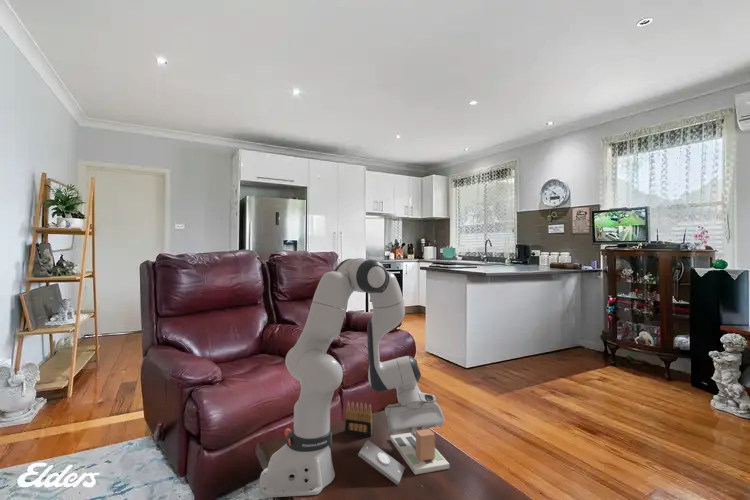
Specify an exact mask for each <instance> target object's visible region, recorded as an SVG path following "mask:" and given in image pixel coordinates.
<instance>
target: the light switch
mask: <svg viewBox="0 0 750 500" xmlns="http://www.w3.org/2000/svg"><path fill="white" fill-rule="evenodd" d="M357 456H358V457H360V458H361V459H363V461H365V462H366V463H367V464H369V465H370V466H371V467H373V468H374V469H375V470H377V471H378V472H379V473H381V474H382V475H383V476H385V477H386V478H388V479H389V480H390V481H391V482H392V483H394V484H395V485H397V486H399V484H400V482H401V481H402V477H403V474H404V471H405V470H406V467H405V466H404V465H403V464H402V463H400V462H399V461H397V460H396V459H395V458H394V457H392V456H391V455H389V454H388V453H387V452H386V451H384V450H383V449H381V448H380V447H378V445H376V444H374V443H373V442H372V441H371V440H369V439H367V440H366V441H365V443H364V445H362V447H361V449H360V450H359V452H358V454H357Z"/></svg>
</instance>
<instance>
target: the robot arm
mask: <svg viewBox="0 0 750 500" xmlns="http://www.w3.org/2000/svg"><path fill="white" fill-rule="evenodd" d="M354 292H356V293H367V294H369V297H370V300H371V306H372V317H371V319H370V320H369V321H368V322H367V328H366V331H367V332H366V333H367V335H366V336H367V340H366V341H367V357H368V370H367V372H368V374H367V378H368V383H369V384H368V385H369V386H370V388H371V389H372V390H373V391H375V392H377V393H379V394H382V393H384V392H387V391H390V390H392V389H395V390H396V398H397V402H398V403H391V404H387V406H385V408H384V413H385V416H386V417H387V427H388V431H389V432H390V433H391V434H394V433H397V434H398V433H402V432H410V433H411V434H412V435H413V436H414V437H415V438H416V431H418V430H425V429H432V428H433V429H434V428H440V427H442V426H443V424H444V423H445V422H446V421H445V420H446V419H445V417H444V414H443V411H442V408H441V406H440V404H438V402H436V401H437V398H436V396H435V395H434V394H429V393H425V392H422V391H421V389H420V388H419V385H418V383H419V381H420V380H421V377H422V373H421V371H420V368H419V365H418V364H419V363H418V361H417V359H416V358H414V357H413V356H411V355H405V356H401V357H400V356H399V357H397V358H393V359H390V360H386V361H380V357H381V356H380V341H381V340H382V338H383V337H384V336H385V335H387V334H388V333H389V332H391V331H393V330H394V329H395V328H396V327H398V326H399V325H400V324H401V323H402V321H403V320H404V318H405V316H406V315H405V313H406V307H405V302H404V301H405V300H404V297H403V293H402V290H401V287H400V284H399V282H398V279H397V277H396V275H395V274H394V273H393V272H392V271H388V270H387V269H386V267H385V265H383V263H381V262H379V261H377V260H374V259H366V258H358V257H357V258H347V259H344V260H342V261H341V262H340V263H338V265H337V266H336V268H335V269H334V270H332V271H328V272H325V273H324V274H322V276H321V277H320V280H319V282H318V285H317V287H316V289H315V292H314V295H313V297H312V302H311V305H310V309H309V312H308V316H307V319H306V322H305V324H304V327H303V330H302V331H301V334H300V336H299V337H298V338H297V341H296V343H295V344H294V346H293V347H291V348H290V349H289V350H288V352H287V353H286V355H285V359H284V361H285V367H286V368H287V371H288V372H289V375H291V377H293V378H294V379H295V380H297V381H299V383H300V393H299V398H298V400H297V401H296V402H295V403H294V407H293V430H291V429H290V428H289V427H288V428H285V430H284V436H285V437H286V443H285V444H284V445H283V446H282V447H280V448H279V449H278V450H277V451H275V452H274V453H272V455H270V459H269V460H268V466H267V467H266V468H264V469H263V471H261V473H260V476H259V482H258V483H259V484H258V487H259V491H260V493H261V495H262V496H264V497H265V498H280V497H281V498H284V497H299V496H300V497H301V496H316V495H319V494H320V493H321V492H322V490H323V489H324V488H325V487H327V486H328V485H330V484H331V483H332V482H333V481H334V479H335V476H336V473H335V469H334V465H333V460H332V452H331V449H332V441H333V438H332V437H333V436H332V435H333V434H332V433H333V432H332V429H331V404H332V399H333V396H334V392H335V391H336V390H338V388H339V387H340V386H341V384H342V381H343V378H344V371H343V370H344V369H343V367H342V365H341V363H339V361H338V360H336V358H334V356H332V355H330V354H328V353H327V352H328V349H329V347H330V346H331V343H332V342H333V341H334V339H336V338H337V337H338V336H339V335H340V333H341V330H342V328H343V323H344V319H345V316H346V315H345V314H346V312H347V311H346V310H347V306H348V303H349V299H350V297H351V295H352V294H353V293H354Z"/></svg>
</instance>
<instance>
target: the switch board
mask: <svg viewBox="0 0 750 500" xmlns="http://www.w3.org/2000/svg"><path fill="white" fill-rule="evenodd" d="M389 437H390V439H389V440H390V441H391V442H392V444H393V446H394V447H395V449H396V450H397V451H398V453H399V454H400V456H401V457H402V458H403V460H404V461H405V463H406V464H407V466H408V467H409V468H410V469H411V471H412V472H413V475H420V474H427V473H432V472H437V471H442V470H443V471H445V470H448V469H450V463H449V462H448V461H447V460H446V458H445V457H444V455H442V453H440V451H439V450H438V449H437V448H436V447H435V459H431V460H425V461H420V460H419V458H418V457H417V456H416V438H415V437H414V436H413V435H412V434H411V432H407V433H399V434H398V433H397V434H393V435H392V434H391V435H390V436H389Z"/></svg>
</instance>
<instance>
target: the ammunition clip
mask: <svg viewBox="0 0 750 500" xmlns="http://www.w3.org/2000/svg"><path fill="white" fill-rule="evenodd" d="M359 404H360V405H359ZM345 409H346V411H345V421H344V422H345V425H344V426H345V427H344V433H347V434H353V435H359V436H364V437H365V436H366V437H372V436H373V413H372V404H371V403H369V404H368V406H367V403H366V402H365V403H364V405H363V402H360V403H359V402H358V401H356V402H355V404H354V401H351V404H350V401H349V400H347V402H346V408H345Z"/></svg>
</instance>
